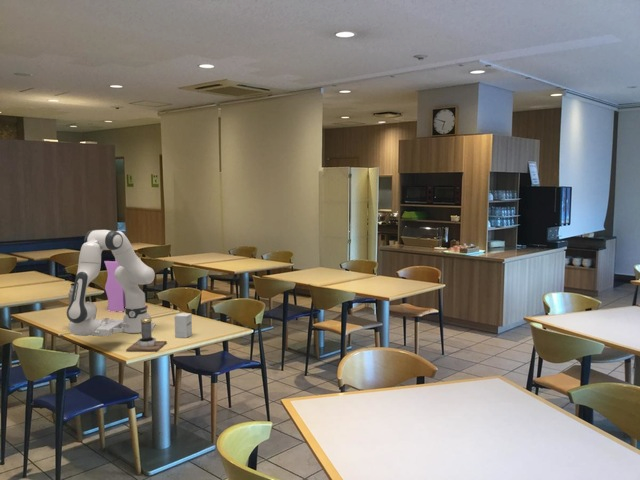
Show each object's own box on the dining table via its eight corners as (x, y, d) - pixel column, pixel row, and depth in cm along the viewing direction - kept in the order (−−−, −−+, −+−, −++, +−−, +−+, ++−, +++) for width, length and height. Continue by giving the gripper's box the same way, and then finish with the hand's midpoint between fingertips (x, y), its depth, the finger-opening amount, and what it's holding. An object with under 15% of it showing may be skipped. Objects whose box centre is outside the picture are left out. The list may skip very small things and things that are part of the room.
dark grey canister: (143, 343, 293) (142, 317, 292) (153, 343, 293) (153, 317, 291) (139, 346, 287) (138, 320, 286) (150, 346, 287) (149, 320, 286)
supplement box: (186, 338, 308) (186, 316, 307) (174, 337, 310) (174, 315, 309) (192, 334, 315) (191, 313, 314) (180, 334, 317) (180, 312, 316)
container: (118, 307, 392) (116, 258, 389) (134, 308, 389) (133, 259, 386) (105, 311, 379) (103, 261, 376) (123, 312, 375) (121, 261, 372)
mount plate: (137, 343, 299) (137, 340, 298) (166, 343, 298) (166, 341, 298) (126, 351, 283) (126, 349, 282) (156, 351, 282) (156, 349, 282)
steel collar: (141, 342, 295) (141, 337, 294) (157, 342, 294) (157, 337, 294) (135, 347, 286) (135, 341, 286) (152, 347, 286) (152, 341, 285)
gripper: (91, 326, 280) (117, 326, 279) (108, 317, 300) (132, 317, 299) (91, 338, 280) (118, 338, 280) (108, 328, 301) (133, 328, 300)
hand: (125, 327), depth 290 cm, fingers open, 8 cm apart
